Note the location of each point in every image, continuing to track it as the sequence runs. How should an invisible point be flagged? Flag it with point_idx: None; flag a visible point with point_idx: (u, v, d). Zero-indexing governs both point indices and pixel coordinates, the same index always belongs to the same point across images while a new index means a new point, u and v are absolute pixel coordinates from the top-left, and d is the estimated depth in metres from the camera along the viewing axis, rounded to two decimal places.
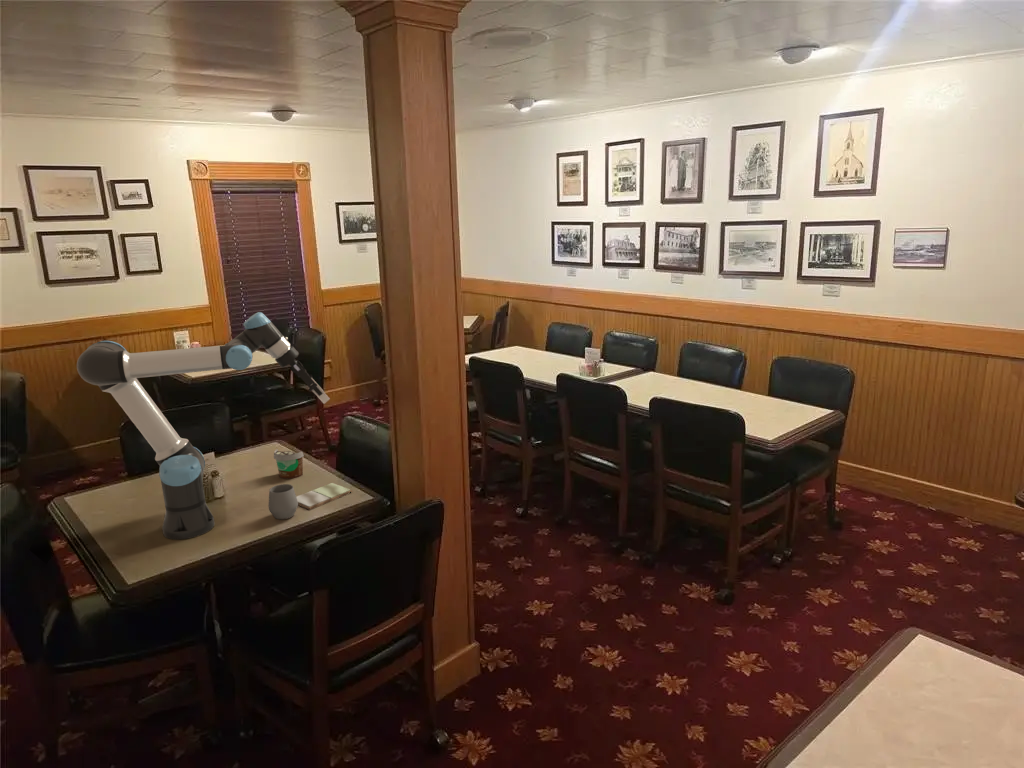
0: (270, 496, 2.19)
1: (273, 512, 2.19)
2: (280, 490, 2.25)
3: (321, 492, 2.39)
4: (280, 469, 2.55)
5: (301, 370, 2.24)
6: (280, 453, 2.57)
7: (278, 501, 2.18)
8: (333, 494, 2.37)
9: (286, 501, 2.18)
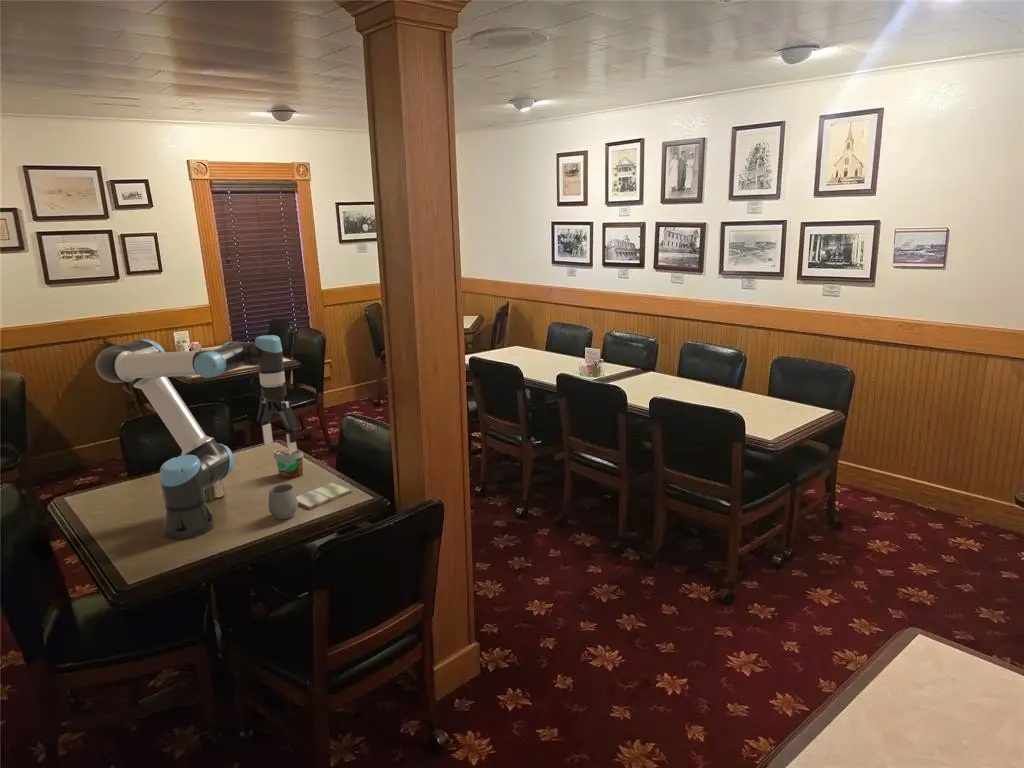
0: (270, 496, 2.19)
1: (273, 512, 2.19)
2: (280, 490, 2.25)
3: (321, 492, 2.39)
4: (280, 469, 2.55)
5: (290, 409, 2.09)
6: (280, 453, 2.57)
7: (278, 501, 2.18)
8: (333, 494, 2.37)
9: (286, 501, 2.18)
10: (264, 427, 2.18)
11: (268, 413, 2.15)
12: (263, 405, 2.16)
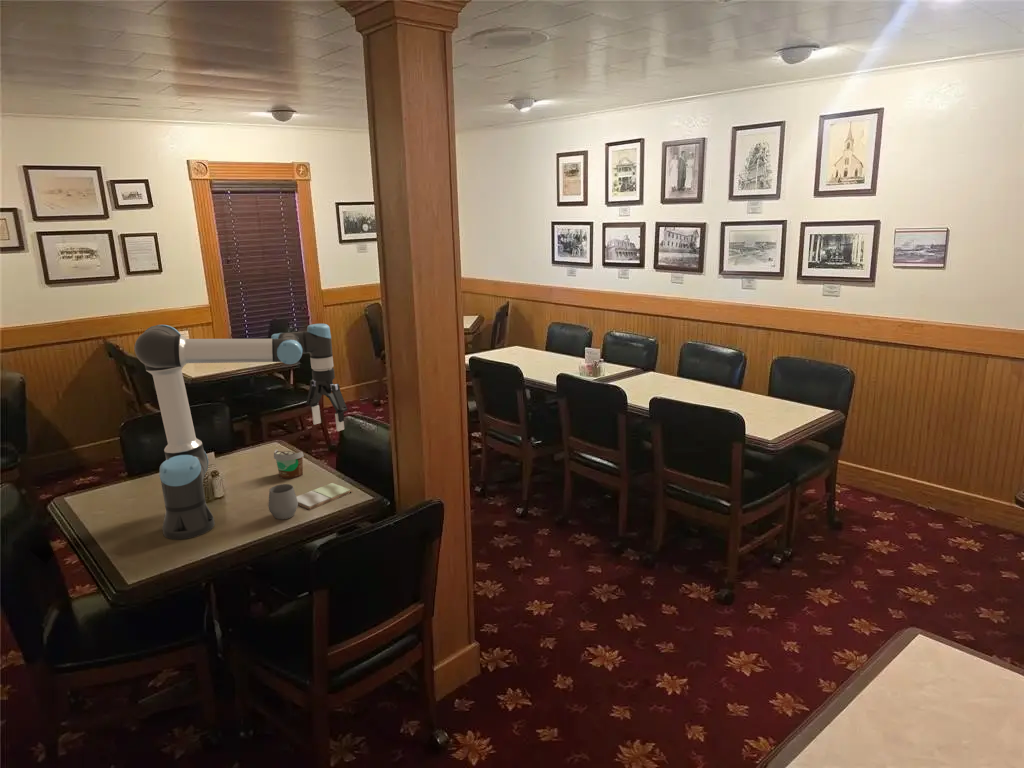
0: (270, 496, 2.19)
1: (273, 512, 2.19)
2: (280, 490, 2.25)
3: (321, 492, 2.39)
4: (280, 469, 2.55)
5: (339, 391, 2.29)
6: (280, 453, 2.57)
7: (278, 501, 2.18)
8: (333, 494, 2.37)
9: (286, 501, 2.18)
10: (313, 408, 2.38)
11: (317, 395, 2.35)
12: (313, 388, 2.36)
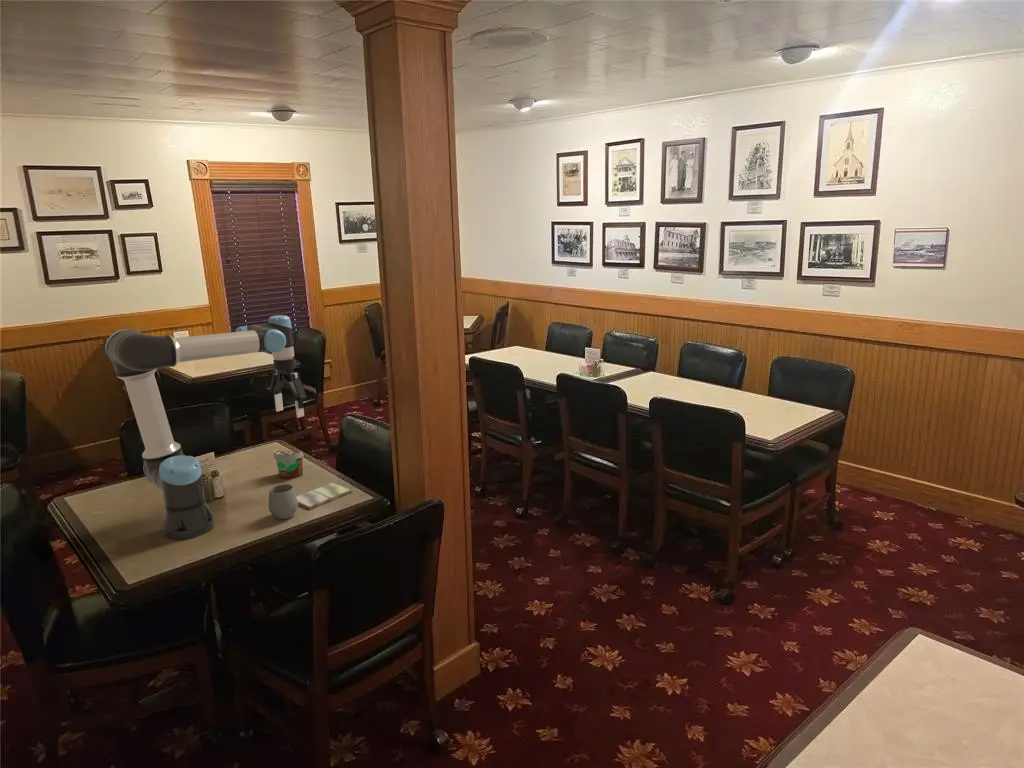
0: (270, 496, 2.19)
1: (273, 512, 2.19)
2: (280, 490, 2.25)
3: (321, 492, 2.39)
4: (280, 469, 2.55)
5: (298, 379, 2.41)
6: (280, 453, 2.57)
7: (278, 501, 2.18)
8: (333, 494, 2.37)
9: (286, 501, 2.18)
10: (276, 396, 2.50)
11: (279, 383, 2.47)
12: (275, 376, 2.48)
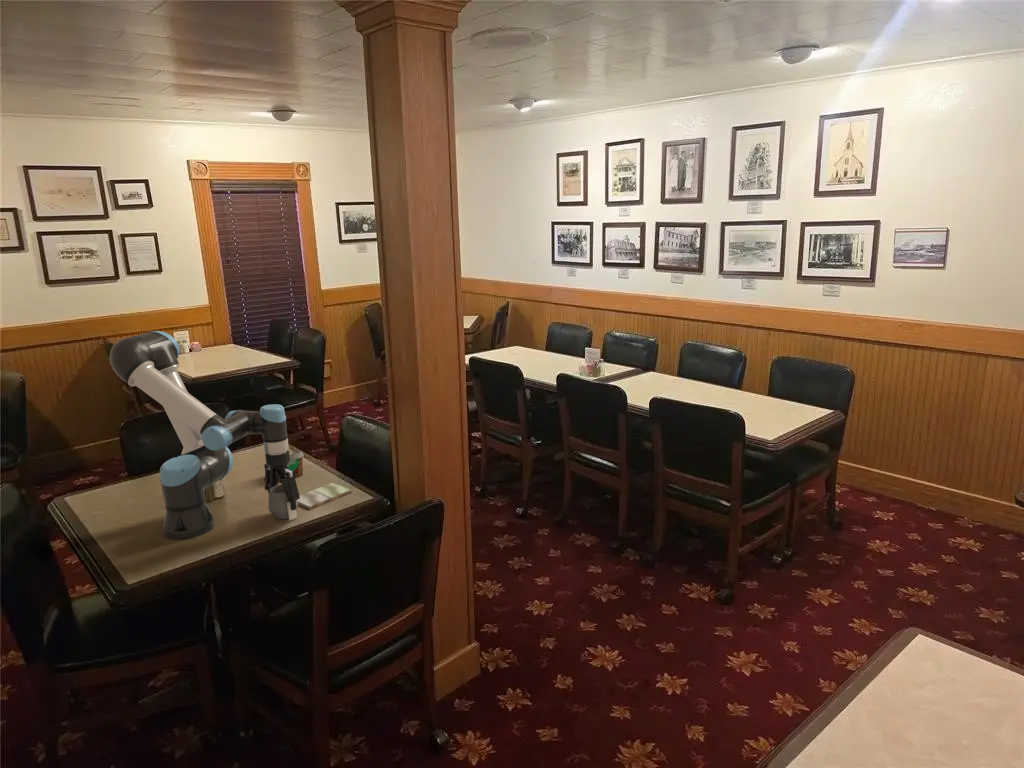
0: (270, 496, 2.19)
1: (273, 512, 2.19)
2: (280, 490, 2.25)
3: (321, 492, 2.39)
4: None
5: (293, 478, 2.16)
6: None
7: (278, 501, 2.18)
8: (333, 494, 2.37)
9: (286, 501, 2.18)
10: None
11: (274, 480, 2.22)
12: (268, 472, 2.23)
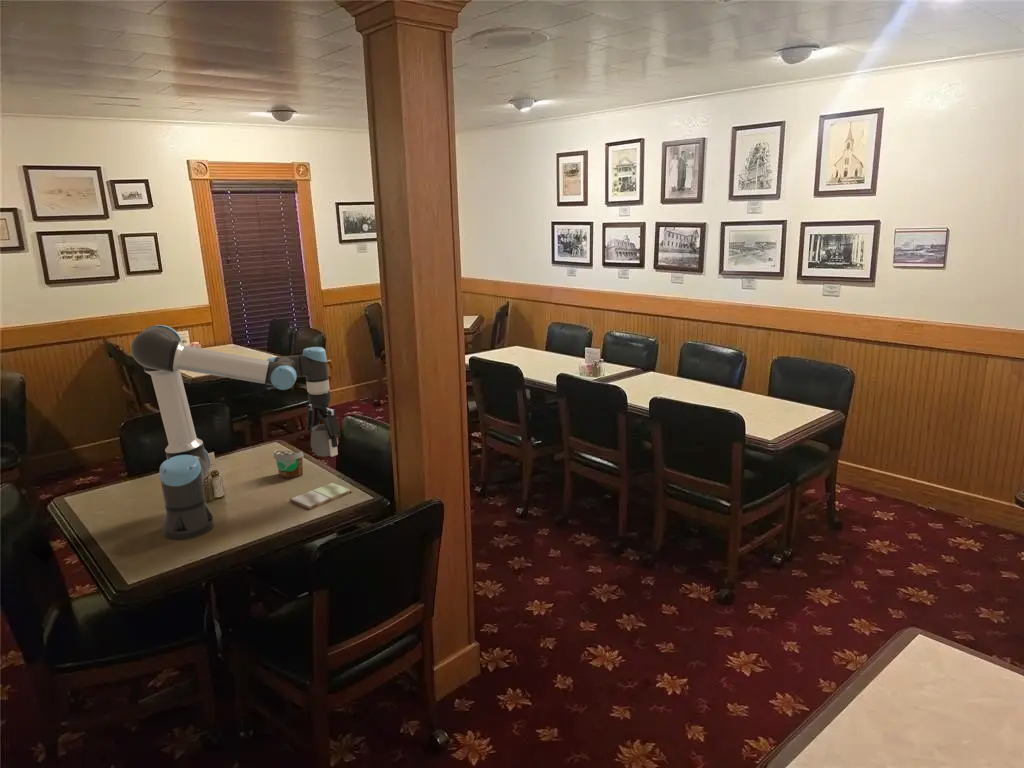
0: (312, 434, 2.32)
1: (315, 449, 2.32)
2: (321, 429, 2.38)
3: (321, 492, 2.39)
4: (280, 469, 2.55)
5: (334, 417, 2.29)
6: (280, 453, 2.57)
7: (320, 438, 2.30)
8: (333, 494, 2.37)
9: (327, 438, 2.31)
10: None
11: (315, 419, 2.34)
12: (310, 412, 2.36)
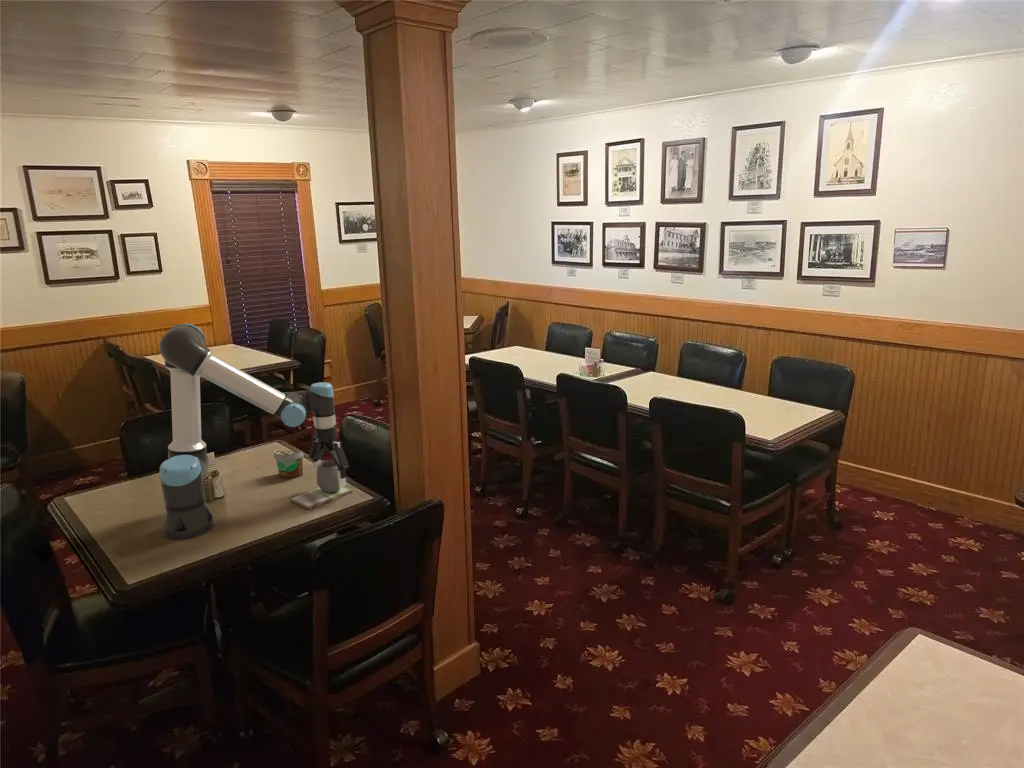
0: (319, 471, 2.37)
1: (321, 485, 2.37)
2: (326, 466, 2.43)
3: (321, 492, 2.39)
4: (280, 469, 2.55)
5: (341, 449, 2.33)
6: (280, 453, 2.57)
7: (326, 475, 2.35)
8: (333, 494, 2.37)
9: (333, 475, 2.36)
10: (316, 463, 2.42)
11: (320, 451, 2.39)
12: (315, 444, 2.40)
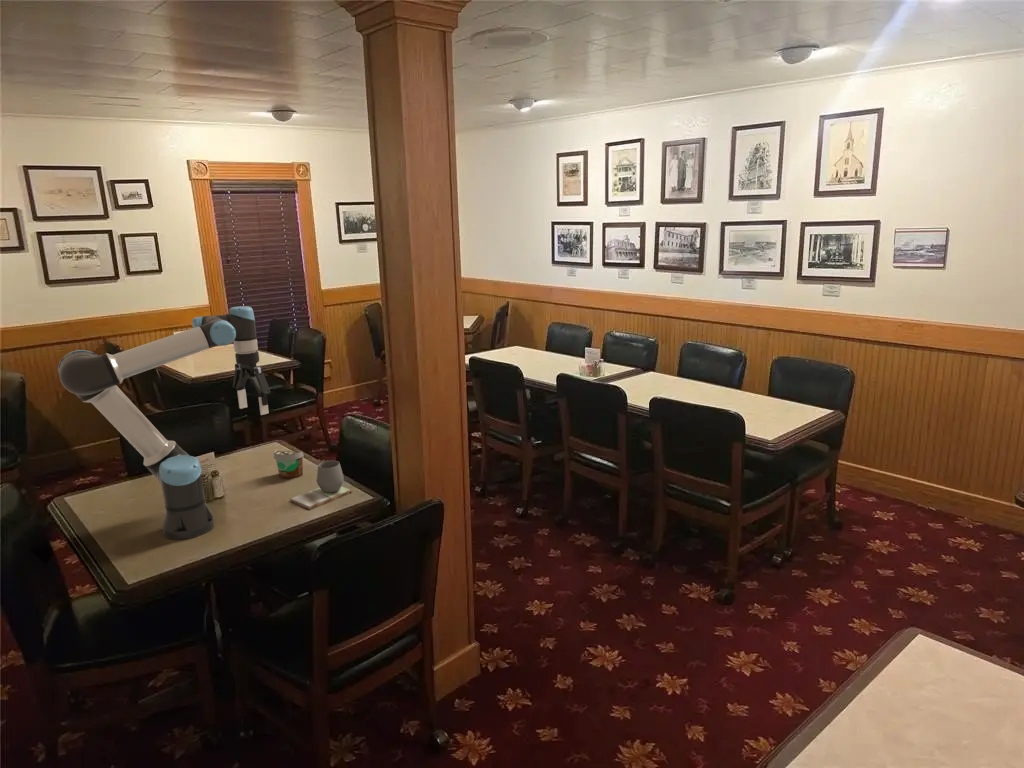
0: (319, 471, 2.37)
1: (321, 486, 2.37)
2: (327, 466, 2.43)
3: (321, 492, 2.39)
4: (280, 469, 2.55)
5: (262, 374, 2.26)
6: (280, 453, 2.57)
7: (326, 475, 2.35)
8: (333, 494, 2.37)
9: (334, 475, 2.36)
10: (239, 392, 2.35)
11: (242, 379, 2.33)
12: (238, 371, 2.33)
